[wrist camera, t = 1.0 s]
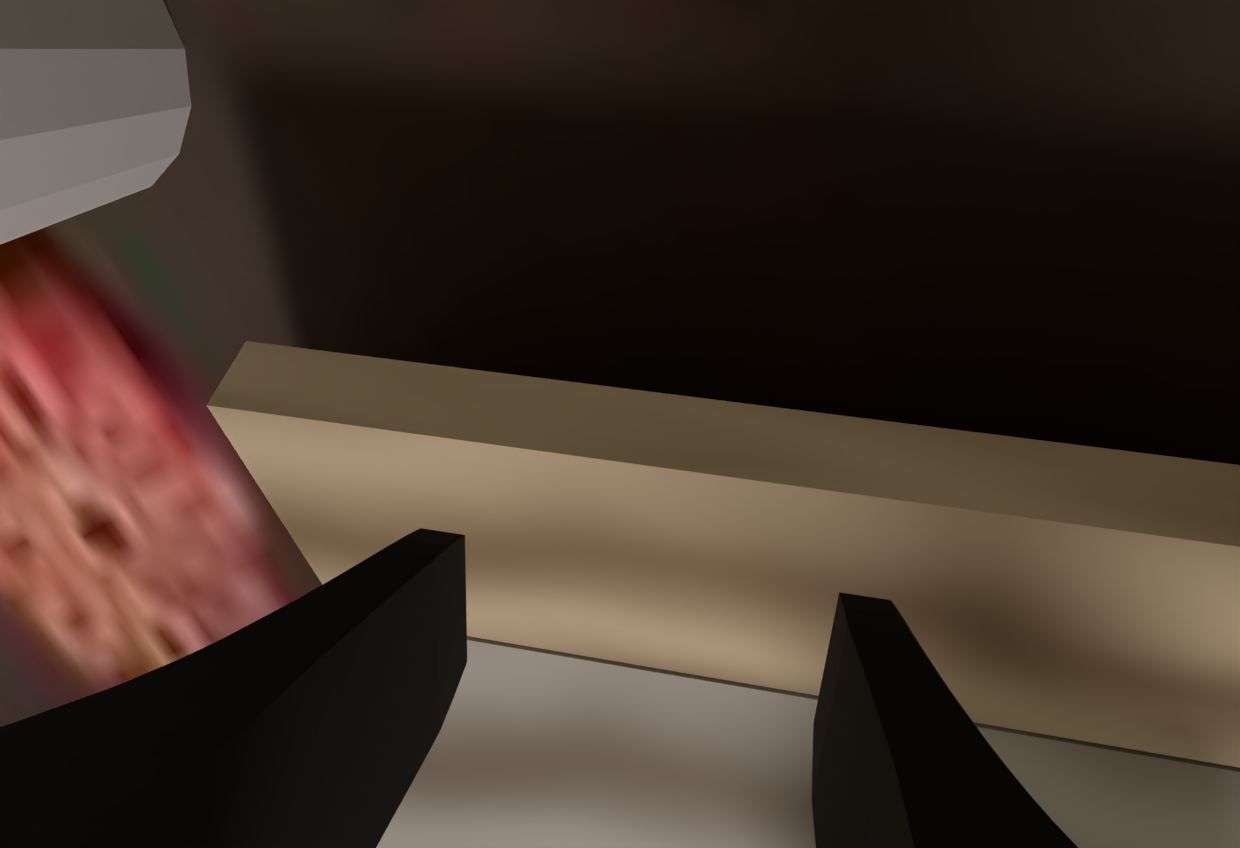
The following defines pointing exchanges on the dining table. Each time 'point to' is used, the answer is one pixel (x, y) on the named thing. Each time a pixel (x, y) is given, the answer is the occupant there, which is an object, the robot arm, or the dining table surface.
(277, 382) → the oak plank
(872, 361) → the dining table surface
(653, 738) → the laid plank
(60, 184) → the white cup
